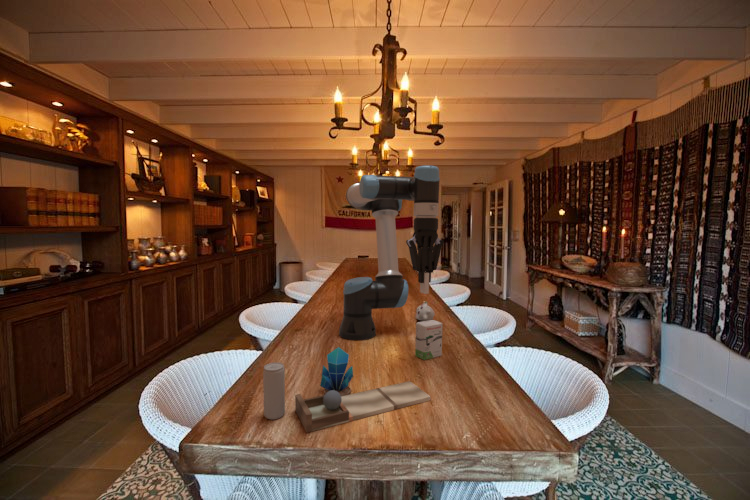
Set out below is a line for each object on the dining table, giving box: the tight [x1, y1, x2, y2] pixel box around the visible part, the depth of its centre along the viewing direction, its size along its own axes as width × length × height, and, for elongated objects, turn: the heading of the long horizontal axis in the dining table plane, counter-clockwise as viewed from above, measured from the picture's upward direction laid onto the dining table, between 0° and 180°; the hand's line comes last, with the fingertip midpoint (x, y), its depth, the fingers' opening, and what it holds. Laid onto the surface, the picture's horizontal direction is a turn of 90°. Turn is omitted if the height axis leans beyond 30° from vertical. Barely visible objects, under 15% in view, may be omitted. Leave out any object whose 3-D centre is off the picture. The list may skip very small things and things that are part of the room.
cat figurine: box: [414, 300, 435, 322], centre depth 166 cm, size 10×8×15 cm
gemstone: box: [319, 346, 354, 396], centre depth 94 cm, size 7×9×12 cm
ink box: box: [414, 319, 443, 361], centre depth 122 cm, size 9×5×12 cm, turn 123°
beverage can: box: [262, 362, 286, 421], centre depth 83 cm, size 5×5×12 cm
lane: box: [294, 380, 432, 434], centre depth 88 cm, size 10×33×4 cm, turn 117°
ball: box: [323, 390, 342, 410], centre depth 85 cm, size 4×4×4 cm
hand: (424, 292), depth 109 cm, fingers closed
